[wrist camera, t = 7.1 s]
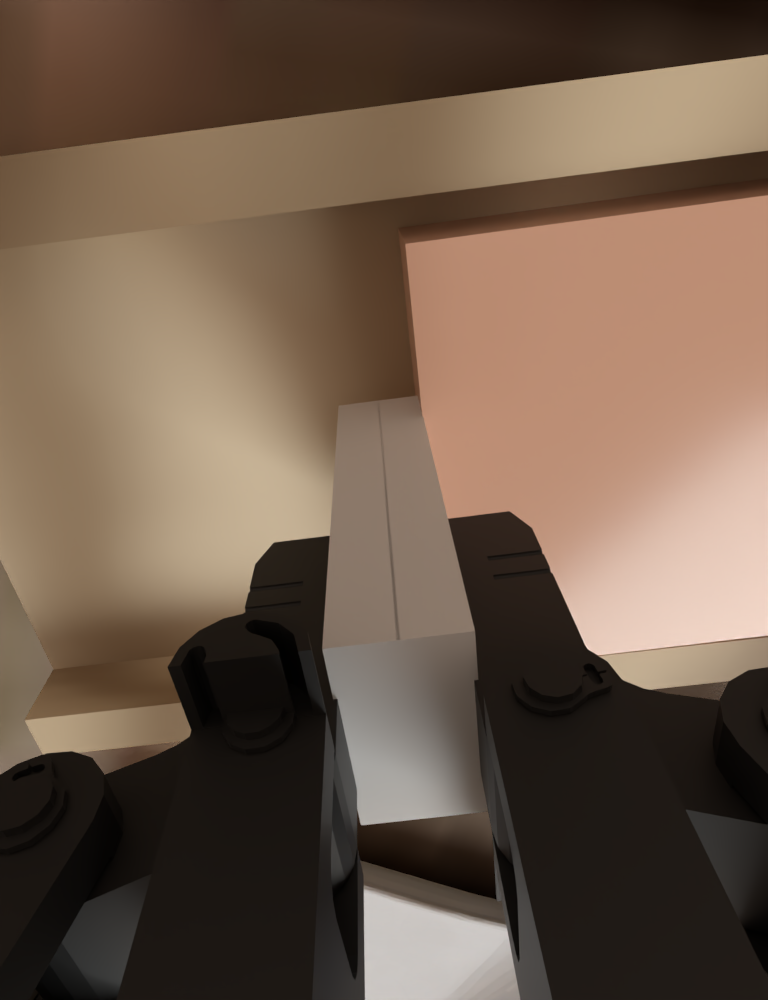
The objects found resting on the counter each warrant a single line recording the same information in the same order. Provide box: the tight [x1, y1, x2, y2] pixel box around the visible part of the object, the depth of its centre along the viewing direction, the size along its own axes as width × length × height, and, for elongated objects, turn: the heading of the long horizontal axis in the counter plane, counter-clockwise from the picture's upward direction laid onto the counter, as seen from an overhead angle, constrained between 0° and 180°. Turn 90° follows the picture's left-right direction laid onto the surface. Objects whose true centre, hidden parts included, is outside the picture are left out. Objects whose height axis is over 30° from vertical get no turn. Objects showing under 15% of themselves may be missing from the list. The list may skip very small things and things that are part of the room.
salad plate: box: [361, 861, 520, 1000], centre depth 31 cm, size 21×21×3 cm
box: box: [0, 55, 768, 754], centre depth 15 cm, size 18×12×7 cm, turn 96°
